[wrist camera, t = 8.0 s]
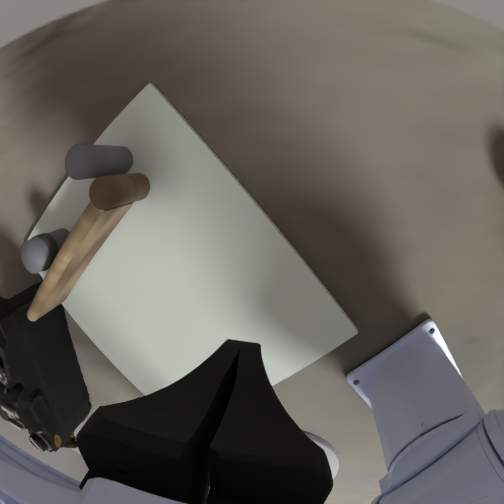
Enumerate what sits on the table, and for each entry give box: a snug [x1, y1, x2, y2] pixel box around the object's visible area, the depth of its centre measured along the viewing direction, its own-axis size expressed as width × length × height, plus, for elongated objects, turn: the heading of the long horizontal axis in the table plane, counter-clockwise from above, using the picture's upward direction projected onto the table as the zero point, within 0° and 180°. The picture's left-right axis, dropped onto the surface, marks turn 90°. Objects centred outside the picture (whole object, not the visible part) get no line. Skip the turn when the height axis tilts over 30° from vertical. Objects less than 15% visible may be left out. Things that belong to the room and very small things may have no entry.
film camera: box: [0, 282, 92, 452], centre depth 21 cm, size 18×12×10 cm
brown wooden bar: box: [27, 173, 150, 321], centre depth 18 cm, size 13×2×4 cm, turn 135°
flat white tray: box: [21, 83, 358, 396], centre depth 19 cm, size 22×18×6 cm
